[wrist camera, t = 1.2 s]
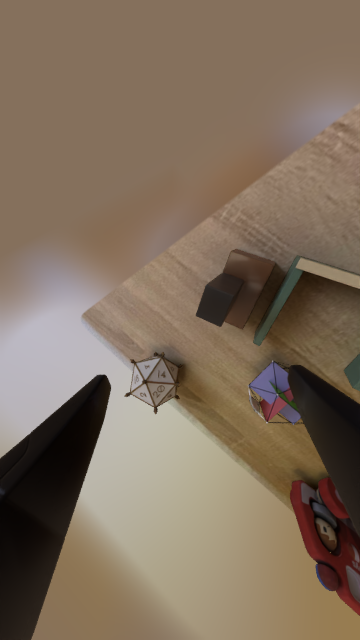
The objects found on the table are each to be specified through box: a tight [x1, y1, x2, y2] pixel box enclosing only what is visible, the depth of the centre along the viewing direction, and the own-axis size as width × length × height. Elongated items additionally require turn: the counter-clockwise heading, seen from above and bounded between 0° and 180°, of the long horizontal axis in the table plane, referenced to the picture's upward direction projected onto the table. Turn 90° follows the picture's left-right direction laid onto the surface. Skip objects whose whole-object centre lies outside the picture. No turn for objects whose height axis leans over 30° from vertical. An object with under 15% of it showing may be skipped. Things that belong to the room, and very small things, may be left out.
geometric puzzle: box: [248, 361, 304, 425], centre depth 23 cm, size 7×7×8 cm
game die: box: [125, 352, 183, 414], centre depth 30 cm, size 9×8×10 cm
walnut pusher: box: [196, 249, 275, 329], centre depth 19 cm, size 8×4×9 cm, turn 166°
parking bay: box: [253, 255, 360, 391], centre depth 19 cm, size 11×10×3 cm
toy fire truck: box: [290, 478, 360, 615], centre depth 25 cm, size 7×12×10 cm, turn 61°
